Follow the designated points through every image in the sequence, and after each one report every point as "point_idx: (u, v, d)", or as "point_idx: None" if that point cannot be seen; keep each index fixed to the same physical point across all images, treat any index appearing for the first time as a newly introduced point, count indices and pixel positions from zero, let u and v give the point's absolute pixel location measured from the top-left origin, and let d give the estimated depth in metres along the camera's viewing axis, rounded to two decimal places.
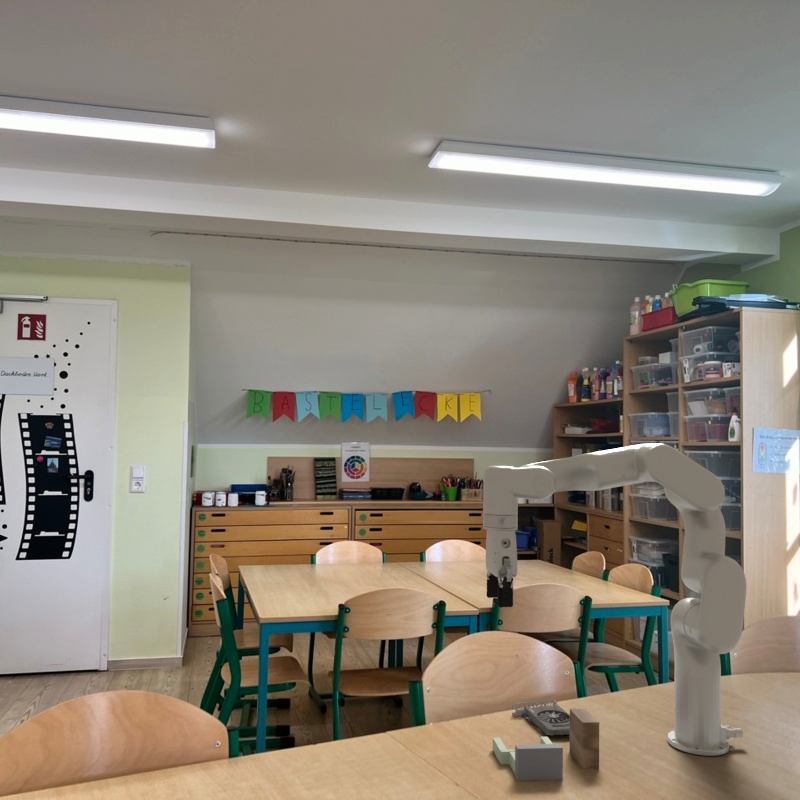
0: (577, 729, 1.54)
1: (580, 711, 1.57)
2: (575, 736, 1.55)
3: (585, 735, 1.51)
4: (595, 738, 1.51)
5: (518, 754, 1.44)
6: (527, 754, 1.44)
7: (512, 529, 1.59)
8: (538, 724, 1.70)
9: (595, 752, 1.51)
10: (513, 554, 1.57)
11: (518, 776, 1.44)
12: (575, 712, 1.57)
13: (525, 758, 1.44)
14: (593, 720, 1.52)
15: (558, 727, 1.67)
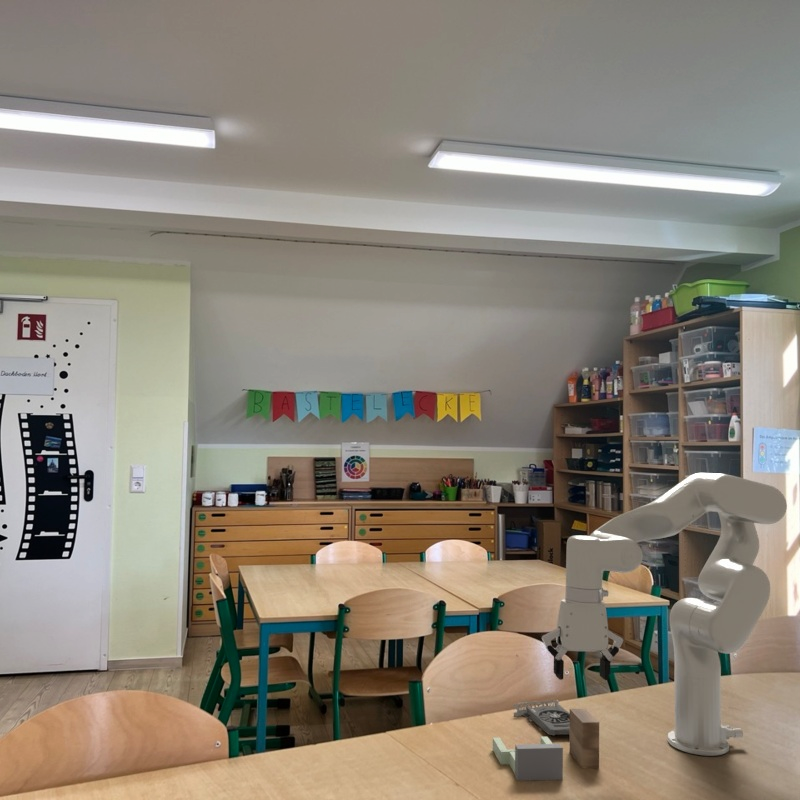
0: (577, 729, 1.54)
1: (580, 711, 1.57)
2: (575, 736, 1.55)
3: (585, 735, 1.51)
4: (595, 738, 1.51)
5: (518, 754, 1.44)
6: (527, 754, 1.44)
7: None
8: (540, 724, 1.70)
9: (595, 752, 1.51)
10: None
11: (518, 776, 1.44)
12: (575, 712, 1.57)
13: (525, 758, 1.44)
14: (593, 720, 1.52)
15: (560, 727, 1.67)
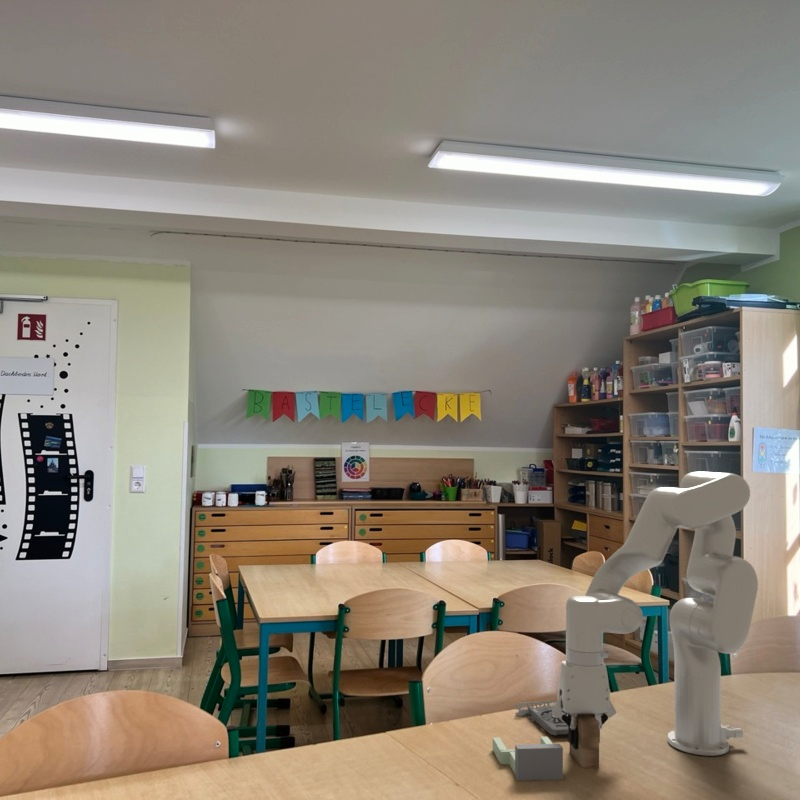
0: (577, 729, 1.54)
1: None
2: None
3: (585, 734, 1.51)
4: (595, 738, 1.51)
5: (518, 754, 1.44)
6: (527, 754, 1.44)
7: None
8: (542, 724, 1.70)
9: (595, 752, 1.51)
10: None
11: (518, 776, 1.44)
12: None
13: (525, 758, 1.44)
14: (593, 720, 1.52)
15: (562, 727, 1.67)
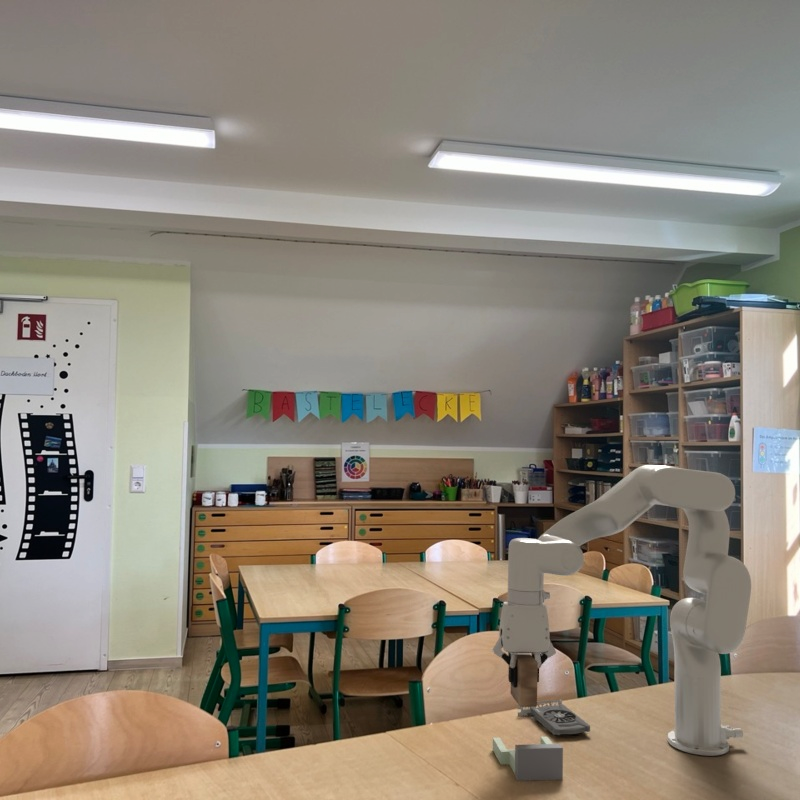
0: None
1: (521, 653, 1.59)
2: None
3: (523, 674, 1.53)
4: (533, 677, 1.53)
5: (518, 754, 1.44)
6: (527, 754, 1.44)
7: None
8: (544, 724, 1.71)
9: (533, 691, 1.53)
10: None
11: (518, 776, 1.44)
12: None
13: (525, 758, 1.44)
14: (532, 660, 1.54)
15: (565, 727, 1.67)
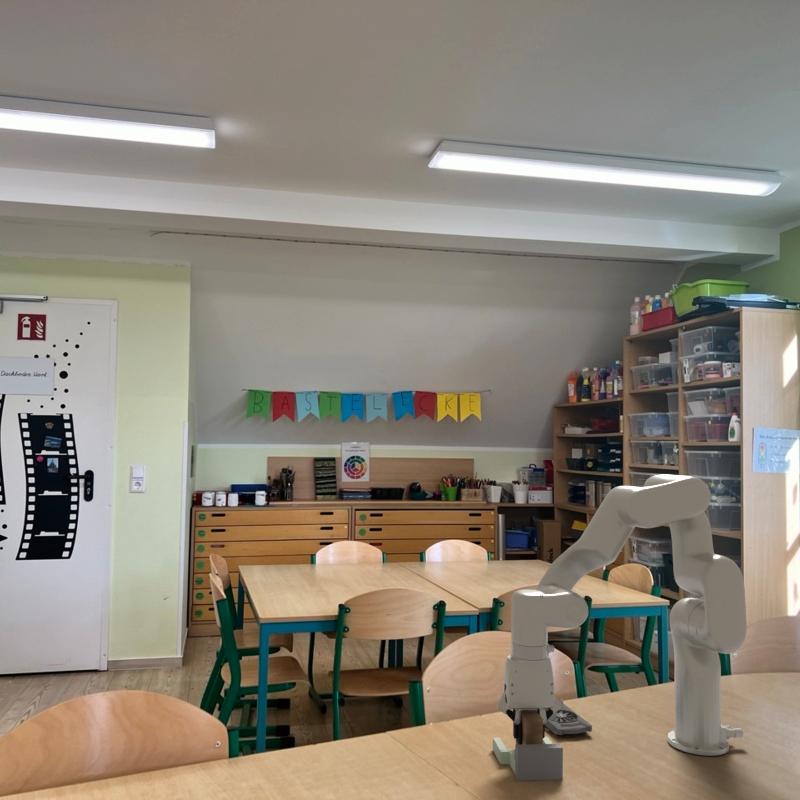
0: (522, 726, 1.52)
1: None
2: None
3: (528, 732, 1.49)
4: (539, 735, 1.49)
5: (518, 754, 1.44)
6: (527, 754, 1.44)
7: None
8: (546, 724, 1.71)
9: None
10: None
11: (518, 776, 1.44)
12: None
13: (525, 758, 1.44)
14: (537, 717, 1.50)
15: (567, 727, 1.67)
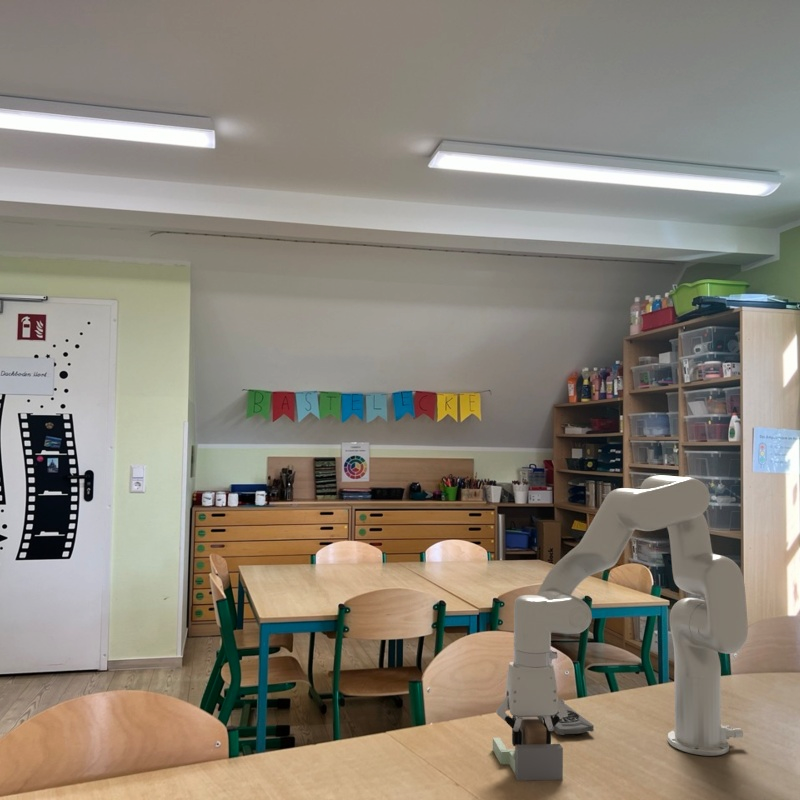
0: (525, 735, 1.50)
1: (528, 717, 1.54)
2: (523, 743, 1.51)
3: (532, 741, 1.47)
4: None
5: (518, 754, 1.44)
6: (527, 754, 1.44)
7: None
8: None
9: None
10: None
11: (518, 776, 1.44)
12: (523, 718, 1.53)
13: (525, 758, 1.44)
14: (540, 726, 1.48)
15: (568, 726, 1.67)
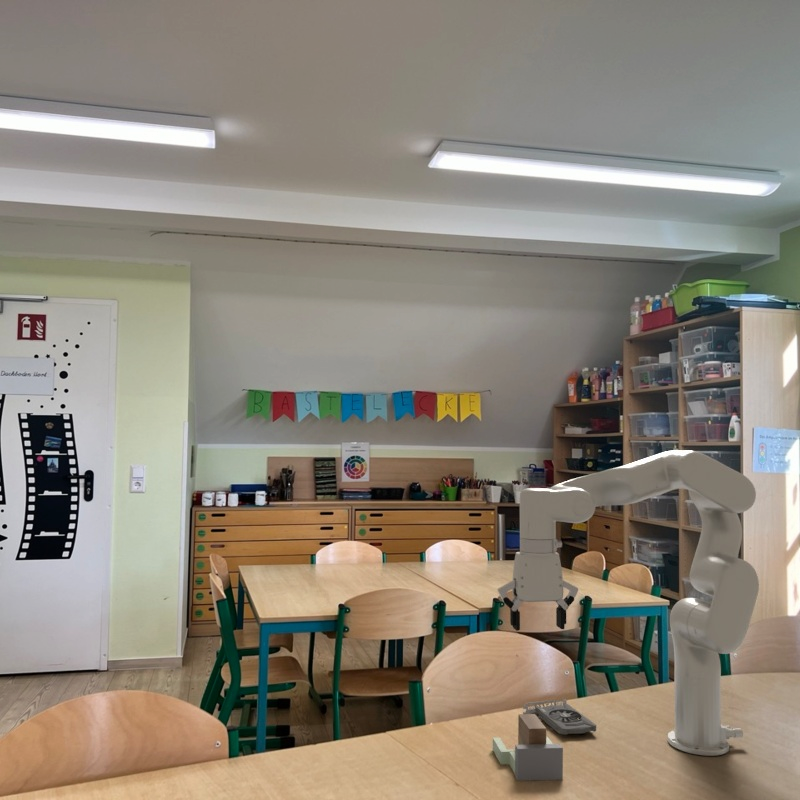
0: (525, 735, 1.50)
1: (528, 717, 1.54)
2: (523, 743, 1.51)
3: (532, 741, 1.47)
4: None
5: (518, 754, 1.44)
6: (527, 754, 1.44)
7: None
8: (551, 723, 1.71)
9: None
10: None
11: (518, 776, 1.44)
12: (523, 718, 1.53)
13: (525, 758, 1.44)
14: (540, 726, 1.48)
15: (571, 726, 1.68)
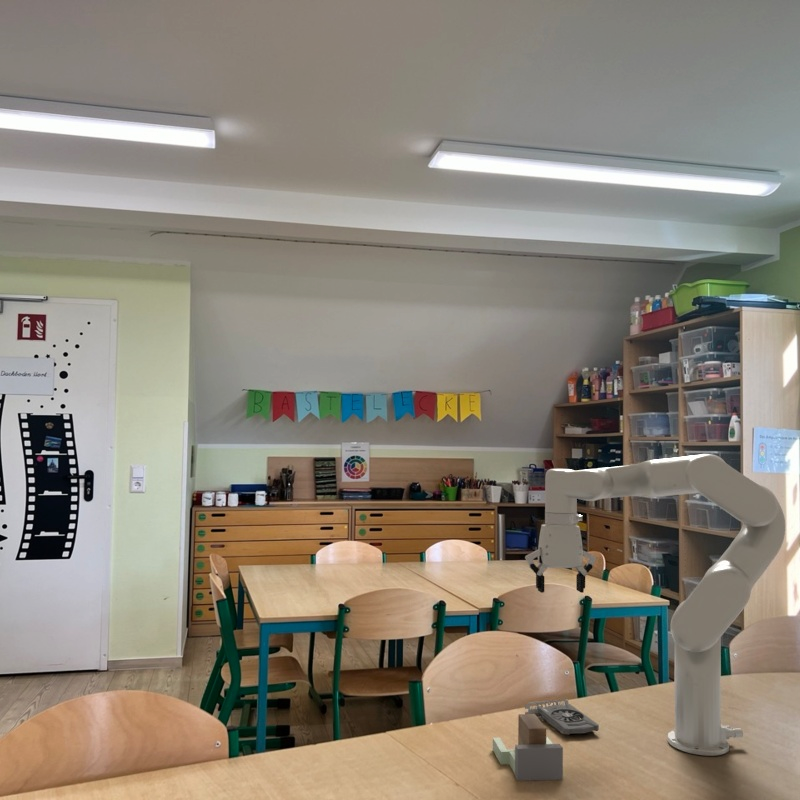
0: (525, 735, 1.50)
1: (528, 717, 1.54)
2: (523, 743, 1.51)
3: (532, 741, 1.47)
4: None
5: (518, 754, 1.44)
6: (527, 754, 1.44)
7: None
8: (553, 723, 1.71)
9: None
10: None
11: (518, 776, 1.44)
12: (523, 718, 1.53)
13: (525, 758, 1.44)
14: (540, 726, 1.48)
15: (574, 726, 1.68)
